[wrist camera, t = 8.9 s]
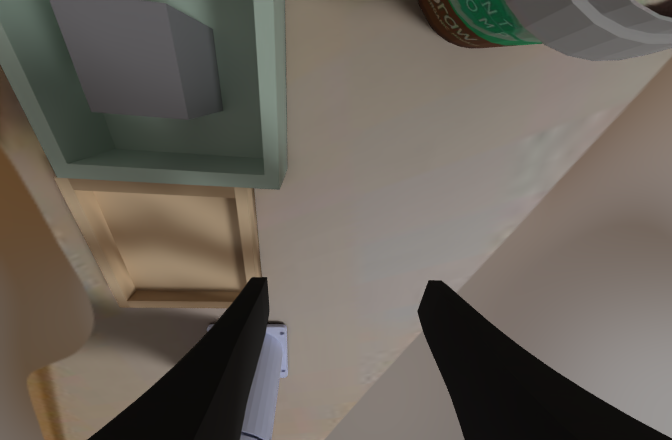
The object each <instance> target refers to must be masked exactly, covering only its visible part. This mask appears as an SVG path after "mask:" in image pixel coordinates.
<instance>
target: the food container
mask: <svg viewBox="0 0 672 440" xmlns="http://www.w3.org/2000/svg"><path fill="white" fill-rule="evenodd" d="M418 2H419V6H420V8H421V10H422V12H423V13H424V15H425V17H426V19H427V20H428V22H429V24H430V26H431V27H432V28H433V29H434V30H435V31H436V32H437V33H438V35H440V36H441V37H442V38H444V39H445V40H447V41H448V42H450V43H452V44H455V45H457V46H460V47H466V48H489V47H502V46H516V45H529V44H542V43H543V44H544V45H546V46H548V47H550V48H552V49H555V50H557V51H559V52H561V53H563V54H565V55H567V56H572V57H577V58H582V59H587V60H591V61H603V60H623V59H628V58H633V57H638V56H643V55H648V54H652V53H655V52H659V51H663V50H666V49H670V48H672V0H418Z"/></svg>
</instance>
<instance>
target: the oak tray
mask: <svg viewBox="0 0 672 440" xmlns="http://www.w3.org/2000/svg"><path fill="white" fill-rule="evenodd" d="M54 179H55V181H56V183H57V185H58V187H59V189H60V191H61V193H62V195H63V197H64V199H65V201H66V203H67V205H68V207H69V209H70V211H71V213H72V215H73V217H74V218H75V220H76V222H77V224H78V226H79V228H80V230H81V232H82V234H83V236H84V238H85V240H86V242H87V244H88V246H89V248H90V250H91V252H92V254H93V256H94V258H95V260H96V262H97V264H98V266H99V267H100V269H101V271H102V273H103V275H104V277H105V279H106V281H107V283H108V285H109V287H110V289H111V291H112V293H113V295H114V297H115V299H116V301H117V303H118V305H119V307H122V308H229V306H230V305H231V304H232V303H233V301H234V300H235V299H236V297H237V296H238V295H239V294H240V292H241V291H242V289H243V288H244V287H245V285H246V284H247V282H248V281H249V280H250V279H251V278H252V277H262V274H261V263H260V251H259V240H258V229H257V218H256V206H255V195H254V188H241V187H222V186H203V185H185V184H166V183H147V182H128V181H110V180H91V179H72V178H57V176H56V177H54Z"/></svg>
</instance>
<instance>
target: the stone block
mask: <svg viewBox="0 0 672 440" xmlns="http://www.w3.org/2000/svg"><path fill="white" fill-rule="evenodd" d="M49 1H50V3H51V6H52V9H53V11H54V14H55V17H56V19H57V22H58V25H59V27H60V30H61V33H62V35H63V38H64V41H65V43H66V46H67V49H68V51H69V54H70V57H71V59H72V62H73V65H74V67H75V70H76V73H77V75H78V78H79V81H80V83H81V86H82V89H83V91H84V94H85V96H86V99H87V102H88V104H89V107H90V110H91V112H97V113H109V114H122V115H134V116H147V117H159V118H171V119H184V120H190V119H194V118H198V117H202V116H206V115H210V114H213V113H217V112H221V111H223V103H222V96H221V88H220V80H219V73H218V65H217V57H216V49H215V42H214V34H213V29H212V28H210V27H208V26H207V25H205V24H203V23H201V22H199V21H197V20H196V19H194V18H192V17H190V16H188V15H186V14H184V13H183V12H181V11H179V10H177V9H175V8H173V7H172V6H170V5H168V4H166V3H159V2H151V1H143V0H49Z"/></svg>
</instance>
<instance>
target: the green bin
mask: <svg viewBox="0 0 672 440" xmlns="http://www.w3.org/2000/svg"><path fill="white" fill-rule="evenodd" d="M143 1H151V2H159V3H166V4H168V5H170V6H172V7H173V8H175V9H177V10H179V11H181V12H183V13H184V14H186V15H188V16H190V17H192V18H194V19H196V20H197V21H199V22H201V23H203V24H205V25H207V26H208V27H210V28H212V29H213V34H214V42H215V49H216V57H217V65H218V73H219V80H220V88H221V96H222V103H223V111H221V112H217V113H213V114H210V115H206V116H202V117H198V118H194V119H190V120H184V119H171V118H159V117H147V116H134V115H122V114H109V113H97V112H91V110H90V107H89V104H88V102H87V99H86V96H85V94H84V91H83V89H82V86H81V83H80V81H79V78H78V75H77V73H76V70H75V67H74V65H73V62H72V59H71V57H70V54H69V51H68V49H67V46H66V43H65V41H64V38H63V35H62V33H61V30H60V27H59V25H58V22H57V19H56V17H55V14H54V11H53V9H52V6H51V3H50V1H49V0H0V65H1V67H2V69H3V71H4V73H5V75H6V77H7V79H8V81H9V83H10V85H11V87H12V89H13V91H14V93H15V95H16V97H17V99H18V101H19V103H20V105H21V107H22V109H23V110H24V112H25V114H26V116H27V118H28V120H29V122H30V124H31V126H32V128H33V130H34V132H35V134H36V136H37V138H38V140H39V142H40V144H41V146H42V148H43V150H44V152H45V154H46V156H47V158H48V160H49V162H50V164H51V166H52V168H53V170H54V172H55V174H56V176H57V178H72V179H91V180H110V181H128V182H147V183H166V184H185V185H203V186H222V187H241V188H260V189H278V190H280V187H281V185H282V182H283V179H284V177H285V174H286V171H287V103H286V38H285V0H143Z"/></svg>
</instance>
